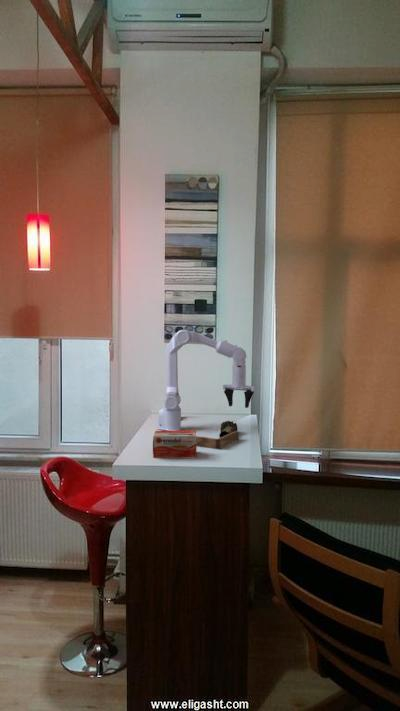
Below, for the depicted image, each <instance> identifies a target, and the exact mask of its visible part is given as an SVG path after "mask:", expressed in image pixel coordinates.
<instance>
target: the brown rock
mask: <svg viewBox="0 0 400 711" xmlns="http://www.w3.org/2000/svg"><path fill="white" fill-rule="evenodd" d="M234 431H239V430H238V425H237V422H234V421H233V420H232V421H230V420H225V421H222V423H221V424H220V432H219V434H218V436H219V438H221V437H223V436H225V435H227V434H230V433H232V432H234Z"/></svg>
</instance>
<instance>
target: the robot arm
mask: <svg viewBox="0 0 400 711" xmlns="http://www.w3.org/2000/svg"><path fill="white" fill-rule="evenodd" d="M189 343H200V344H203V345H205V346H207V347H211V348H213V349H215V352H216V353H217V354H220V355H222V356H224V357H227V358H229V359H231V358H232V360H233V362H232V374H231V375H232V377H231V378H232V383H231V384H223V385H222V390H224V391H223V393H224V395H225V397H226V399H227V402H228V407H232V406H233V404H234V403H233V402H234V401H233V399H234V398H233V397H234V391H244V392H243V393H244V400H245V401H244V408H245V409H247V408H249V406H250V402H251V400H252V397H253V395H254V392H256V386H252V385H246V383H247V382H246V381H247V380H246V378H247V376H246V374H247V371H246V370H247V369H246V368H247V366H246V358H247V353H246V351H245V349H243V348H242V347H239V346H238V345H237V344H235V345H234V344H231V343H230V342H228V340H226V339H225V340H218V341H217V340H215V339H213V338H210V337H208V336H206V335H203V334H201V333H199V332H195V331H191V330H188V329H181V330H178V331H177V332H176V333H174V334H173V335H172V338H171V339H170V341H169V342H168V344H167V345H166V348H165V349H166V393H165V394H166V395H165V398H164V402H163V404H164V407H163V408H160V410H159V411H158V415H157V418H158V424H157V426H158V428H157V430H159V431H182V430H184V429H185V427H184V426H182V423H181V422H182V420H181V419H182V409H181V407H180V403H181V396H180V394H179V381H178V380H179V379H178V378H179V377H178V375H179V373H178V370H179V369H178V352H179V350H181V348H182V347H183V346H185V345H187V344H189Z"/></svg>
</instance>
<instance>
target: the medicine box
mask: <svg viewBox="0 0 400 711" xmlns="http://www.w3.org/2000/svg"><path fill="white" fill-rule="evenodd" d="M196 436H197V432H196V430H178V431H168V430H155V431H154V434H153V436H152V437H153V438H152V456H153V458H155V459H156V458H159V459H160V458H161V459H162V458H165V459H166V458H176V459H177V458H183V459H184V457H195V458H196V456H197V450H198V449H197V447H198V446H197V443H196Z"/></svg>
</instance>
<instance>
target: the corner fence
mask: <svg viewBox="0 0 400 711" xmlns="http://www.w3.org/2000/svg"><path fill="white" fill-rule="evenodd" d="M239 435H240V431H239V430H237V431H234V432H232V433H230V434H227V435H225V436H223V437H221V438H220V437H219V438H213V437H205V436H200V435H199V436H198V435H196V443H197V447H202V448H206V449H207V448H209V449H214V450H220V449H223V448H225V447H226V446H228V445H229V446H230V445H231V444H232V443H235V442H237V441H239V439H240V436H239Z"/></svg>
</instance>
